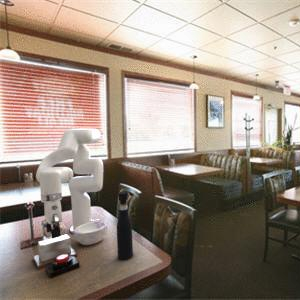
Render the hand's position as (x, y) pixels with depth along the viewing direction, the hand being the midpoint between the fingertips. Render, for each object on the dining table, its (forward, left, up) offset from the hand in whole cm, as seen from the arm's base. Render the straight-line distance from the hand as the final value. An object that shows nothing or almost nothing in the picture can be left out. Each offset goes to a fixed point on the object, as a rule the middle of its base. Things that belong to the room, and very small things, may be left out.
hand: (53, 234), depth 105 cm
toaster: (0, 0, -10) cm, 10 cm away
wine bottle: (-22, +23, -12) cm, 34 cm away
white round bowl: (-17, -6, -12) cm, 22 cm away
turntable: (0, 0, -11) cm, 11 cm away
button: (0, +13, -8) cm, 15 cm away
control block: (0, +13, -11) cm, 17 cm away
